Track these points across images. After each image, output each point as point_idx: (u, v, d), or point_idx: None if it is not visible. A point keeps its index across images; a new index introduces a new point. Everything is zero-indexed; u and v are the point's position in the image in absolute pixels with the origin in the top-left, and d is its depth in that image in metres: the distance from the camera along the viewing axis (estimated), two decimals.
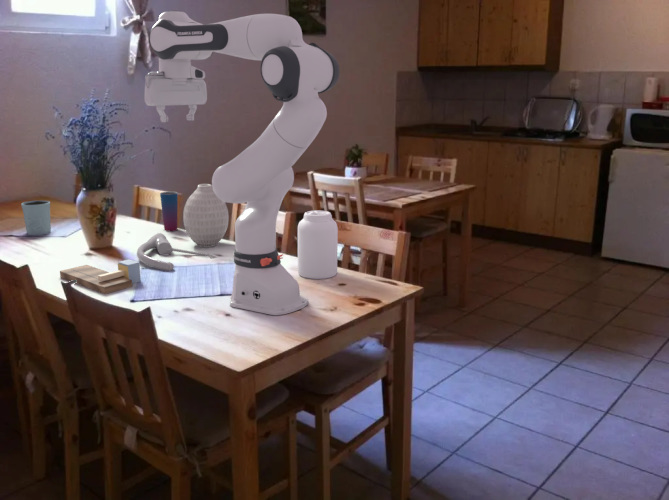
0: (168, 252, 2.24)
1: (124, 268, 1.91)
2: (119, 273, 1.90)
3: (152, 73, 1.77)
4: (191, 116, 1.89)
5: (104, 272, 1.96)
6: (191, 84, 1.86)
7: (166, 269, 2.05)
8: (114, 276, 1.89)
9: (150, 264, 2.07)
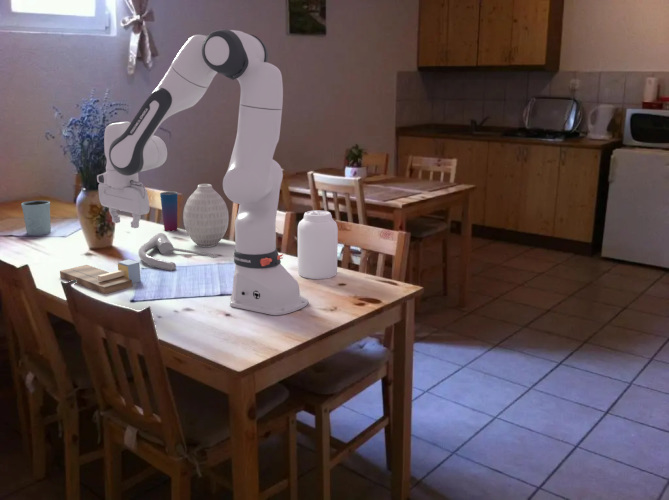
0: (170, 252, 2.24)
1: (124, 268, 1.91)
2: (119, 273, 1.90)
3: None
4: None
5: (104, 272, 1.96)
6: None
7: (168, 269, 2.05)
8: (114, 276, 1.89)
9: (152, 264, 2.08)
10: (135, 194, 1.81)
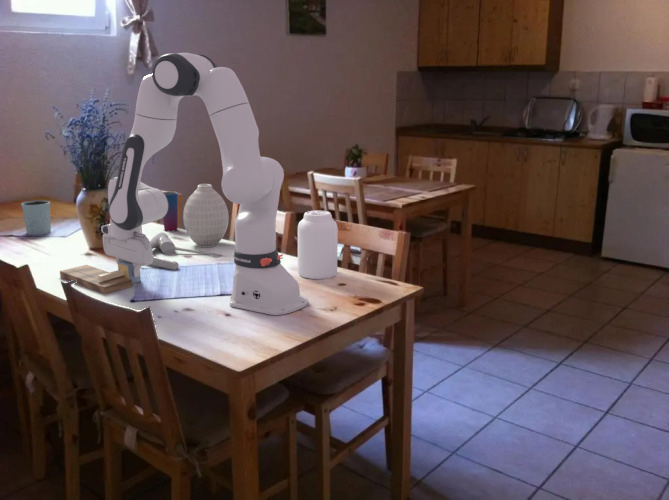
0: (171, 251, 2.25)
1: (124, 268, 1.91)
2: (119, 273, 1.90)
3: None
4: None
5: (104, 272, 1.96)
6: None
7: (171, 268, 2.06)
8: (114, 276, 1.89)
9: (155, 263, 2.08)
10: (139, 246, 1.85)
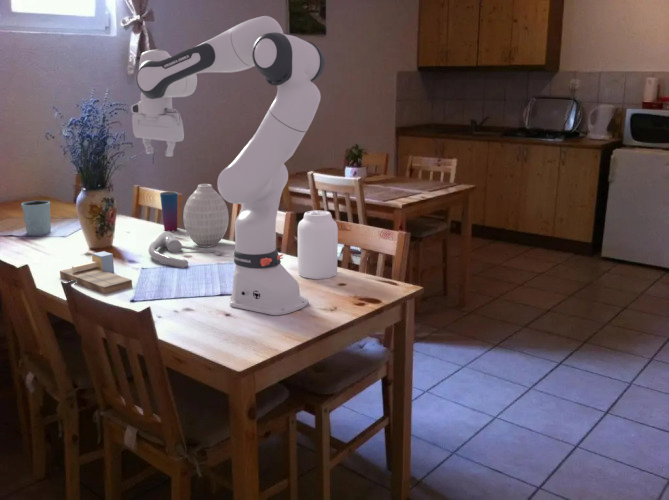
0: (178, 250, 2.27)
1: (97, 260, 2.00)
2: (93, 264, 1.98)
3: None
4: None
5: (104, 272, 1.96)
6: None
7: (181, 266, 2.08)
8: (88, 267, 1.97)
9: (164, 261, 2.10)
10: (170, 121, 1.83)
